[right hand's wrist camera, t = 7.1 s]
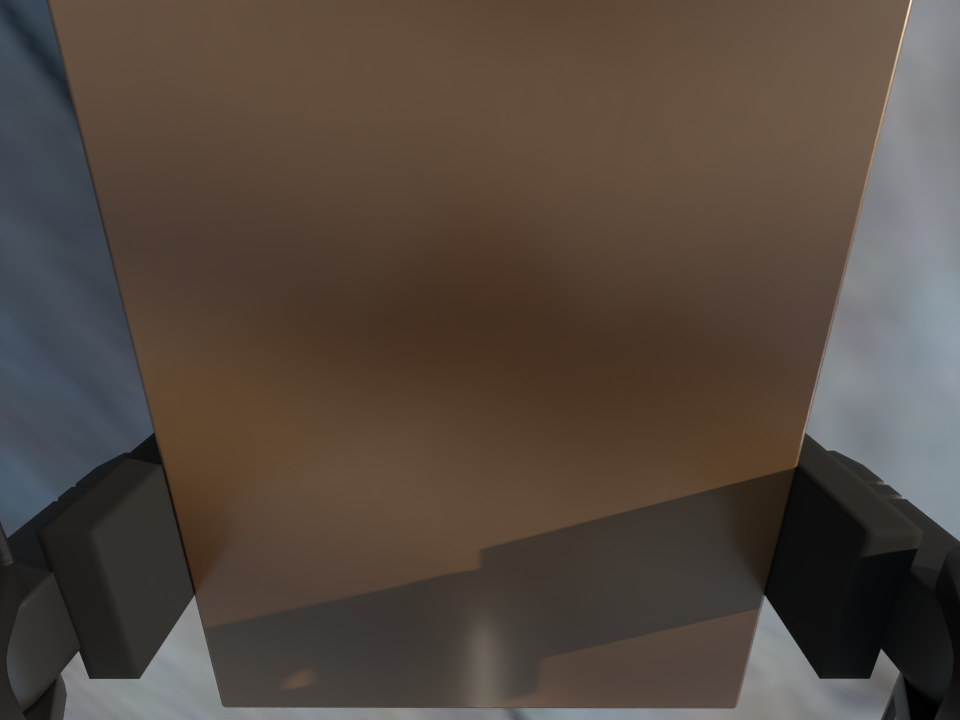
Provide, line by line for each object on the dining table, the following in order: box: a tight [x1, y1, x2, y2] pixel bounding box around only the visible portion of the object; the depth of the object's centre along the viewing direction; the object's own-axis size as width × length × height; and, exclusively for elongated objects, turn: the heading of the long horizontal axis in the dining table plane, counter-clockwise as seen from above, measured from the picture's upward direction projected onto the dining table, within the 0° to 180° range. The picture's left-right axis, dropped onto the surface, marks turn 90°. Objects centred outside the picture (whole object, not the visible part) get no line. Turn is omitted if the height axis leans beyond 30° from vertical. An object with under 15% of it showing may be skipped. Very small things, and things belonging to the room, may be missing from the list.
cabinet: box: [47, 0, 913, 708], centre depth 12 cm, size 17×10×11 cm, turn 0°
